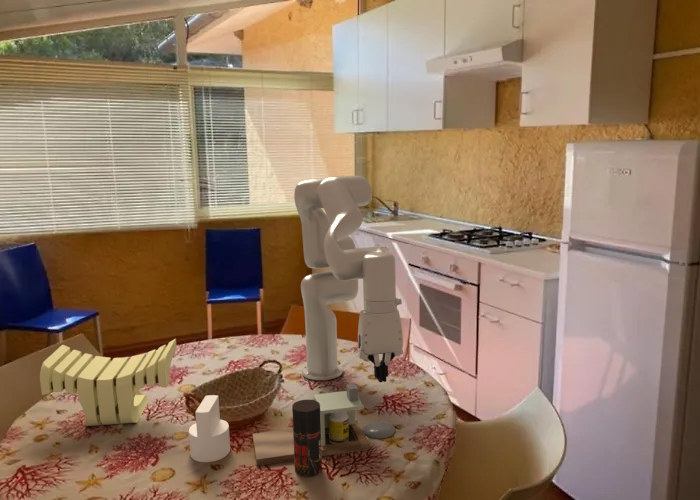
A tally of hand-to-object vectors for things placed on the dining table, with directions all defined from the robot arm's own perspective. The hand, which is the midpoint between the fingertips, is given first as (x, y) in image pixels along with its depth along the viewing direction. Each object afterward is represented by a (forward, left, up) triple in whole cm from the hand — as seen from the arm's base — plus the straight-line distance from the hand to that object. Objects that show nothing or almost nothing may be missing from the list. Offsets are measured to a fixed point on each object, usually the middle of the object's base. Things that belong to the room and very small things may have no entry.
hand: (381, 379), depth 139 cm
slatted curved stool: (-29, -65, -15) cm, 72 cm away
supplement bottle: (0, -11, -15) cm, 18 cm away
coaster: (-2, 0, -14) cm, 14 cm away
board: (0, -18, -14) cm, 23 cm away
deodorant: (+10, -20, -15) cm, 27 cm away
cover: (0, -11, -13) cm, 16 cm away
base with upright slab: (-3, -41, -15) cm, 43 cm away
